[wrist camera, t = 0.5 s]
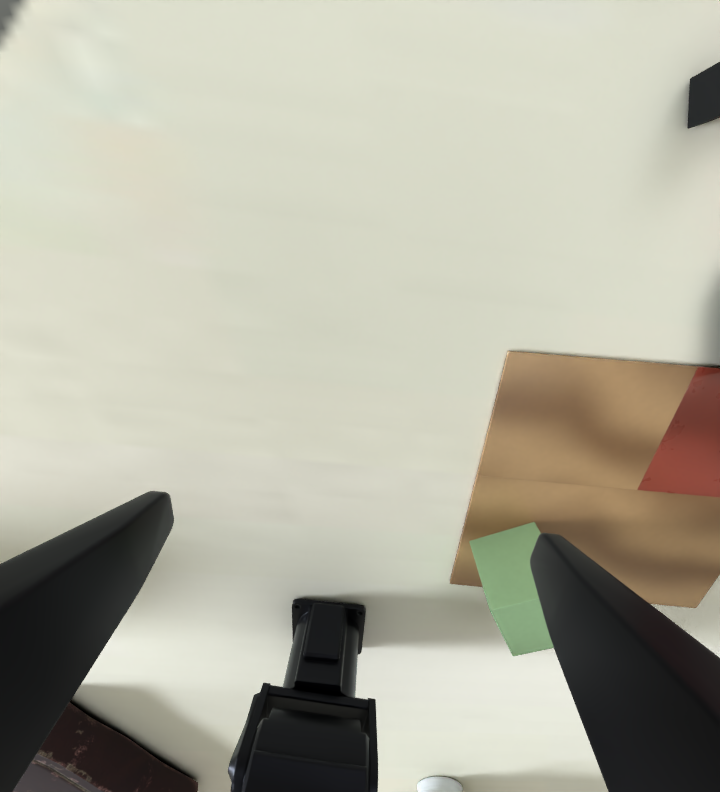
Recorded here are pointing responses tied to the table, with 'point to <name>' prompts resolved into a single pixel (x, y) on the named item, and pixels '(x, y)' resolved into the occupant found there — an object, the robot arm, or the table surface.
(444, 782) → the teacup
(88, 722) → the diary
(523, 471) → the brown red square board
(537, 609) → the green nearly cubic block
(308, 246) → the table surface
